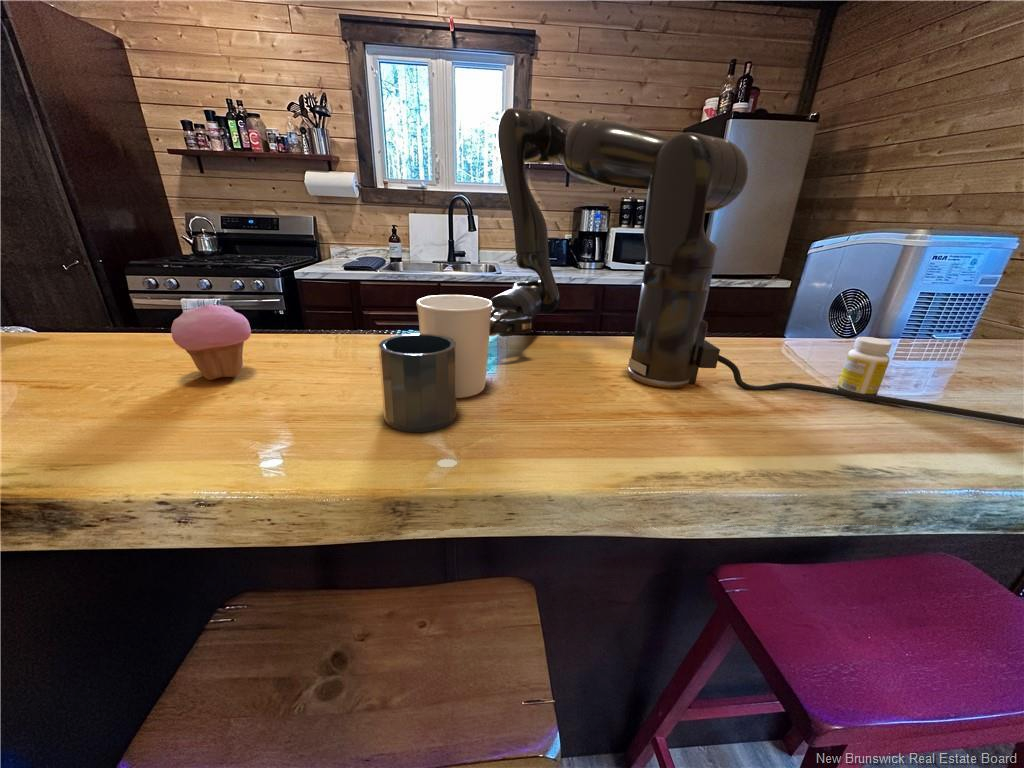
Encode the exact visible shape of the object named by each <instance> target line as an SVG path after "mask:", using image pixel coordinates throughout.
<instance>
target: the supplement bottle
mask: <svg viewBox="0 0 1024 768" xmlns="http://www.w3.org/2000/svg"><path fill="white" fill-rule="evenodd" d="M892 345H893V344H892V342H891V341H889V340H886V339H883V338H880V337H879V338H878V337H872V336H871V337H870V336H858V337H856V339H855V342H854V345H853V348H854V349H851V350H850V351H848V354H847V355H846V359H845V362H844V365H843V368H842V371H841V374H840V377H839V380H838V384H837V386H836V389H840V390H846V391H852V392H857V393H862V394H872V395H878V393H879V390H880V387H881V385H882V383H883V380H884V377H885V374H886V372H887V369H888V366H889V364H890V356H889V355H888V354H889V353H890V351H891V348H892ZM848 398H849V399H851V398H850V397H848ZM852 399H854V400H857V399H856V398H852ZM858 400H860V401H864V400H863V399H858Z"/></svg>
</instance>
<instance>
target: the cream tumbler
mask: <svg viewBox="0 0 1024 768" xmlns="http://www.w3.org/2000/svg"><path fill="white" fill-rule="evenodd" d="M490 300H491V299H489V298H484V297H481V296H474V295H467V294H438V295H436V294H435V295H427V296H424V297H421V298H418V299H417V300H416V302H415V303H416V308H417V318H418V327H419V329H418V330H419V334H433V335H440V336H444V337H447V338H450V339H452V340H453V341H454V342H456V399H463V398H469V397H473V396H476V395H478V394H480V393H481V392H483V391H484V390H485V387H486V382H487V381H486V380H487V369H488V358H489V345H490V336H489V334H490V322H491V310H492V302H491V301H490Z"/></svg>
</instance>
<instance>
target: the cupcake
mask: <svg viewBox="0 0 1024 768" xmlns="http://www.w3.org/2000/svg"><path fill="white" fill-rule="evenodd" d="M170 332H171V338H172V340H173V342H174V343H175V344H176V345H177V346H178V348H181V349H182V350H185V352H186V353H188V355H189V357H190V358H191V360H192V361H193V363H194V365H195V367H196V368H197V370H198V371H199V372H200V374H201V375H202V376H203V377H204V378H205V379H206V380H209V381H213V380H216V379H219V378H223V377H224V378H234V377H237V376H239V375H240V373H241V371H242V368H243V366H244V365H243V364H244V363H243V360H244V359H243V350H244V344H245V342H247V341H248V339H250V337H251V335H252V330H251V326H250V322H249V320H248V318H246V317H245V316H244V315H243V314H242V313H240V312H237V311H236V310H234V309H233V308H232V307H230V306H228V305H221V304H218V305H217V304H215V305H214V304H205V305H203V306H199V307H193V308H191V309H188V310H184V311H182V313H181V314H180V315H179V316H178V317H177V318H175V319H174V320H173V322H172V324H171V328H170Z"/></svg>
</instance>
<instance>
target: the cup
mask: <svg viewBox="0 0 1024 768" xmlns="http://www.w3.org/2000/svg"><path fill="white" fill-rule="evenodd" d="M378 357H379V369H380V370H379V371H380V384H381V398H382V409H383V415H384V416H383V417H384V421H385V423H386V424H387V425H388V426H389V427H391V428H392V429H395V430H398V431H401V432H408V433H424V432H426V433H427V432H433V431H436V430H440V429H442V428H443V429H444V428H446V427H447V426H449V425H450V424H452V423H453V422H454V421H455V419H456V417H457V410H458V409H457V407H458V406H457V403H458V401H457V398H456V342H454V341H453V340H452V339H450V338H447V337H444V336H440V335H433V334H420V333H408V334H407V333H406V334H400V335H394V336H390V337H388V338H386V339H385V338H384V339H382V340H381V341H380V342H379V343H378Z"/></svg>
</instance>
